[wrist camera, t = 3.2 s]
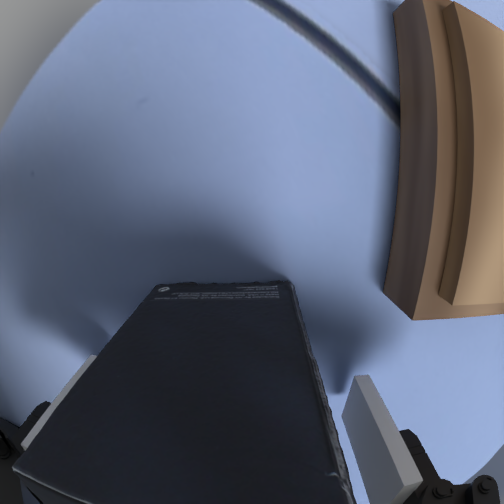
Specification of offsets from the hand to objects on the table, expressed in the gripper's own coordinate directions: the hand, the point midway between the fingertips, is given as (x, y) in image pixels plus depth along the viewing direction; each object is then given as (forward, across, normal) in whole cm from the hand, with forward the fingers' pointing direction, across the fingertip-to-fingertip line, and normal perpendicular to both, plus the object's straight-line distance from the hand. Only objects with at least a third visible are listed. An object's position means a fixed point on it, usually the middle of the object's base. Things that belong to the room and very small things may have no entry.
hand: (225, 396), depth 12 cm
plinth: (+1, +14, +12) cm, 18 cm away
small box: (+2, 0, 0) cm, 2 cm away
